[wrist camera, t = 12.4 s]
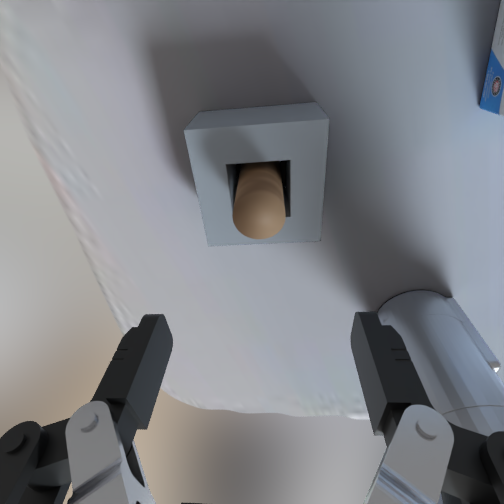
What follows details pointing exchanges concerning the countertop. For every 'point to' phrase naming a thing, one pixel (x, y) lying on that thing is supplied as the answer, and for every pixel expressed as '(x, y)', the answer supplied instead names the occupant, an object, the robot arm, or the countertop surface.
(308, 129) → the socket block
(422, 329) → the robot arm
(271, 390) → the countertop surface
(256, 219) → the walnut dowel
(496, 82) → the ink box
